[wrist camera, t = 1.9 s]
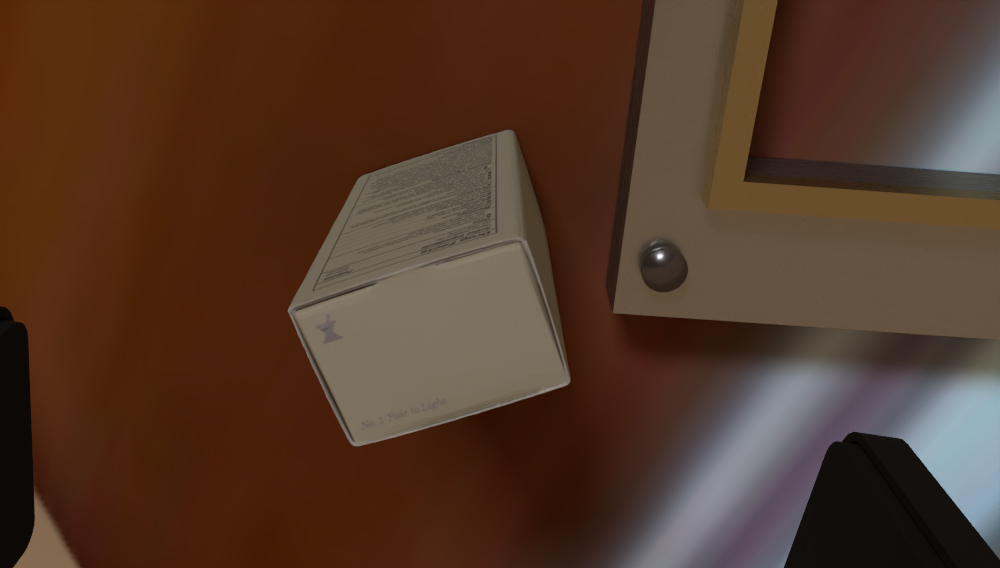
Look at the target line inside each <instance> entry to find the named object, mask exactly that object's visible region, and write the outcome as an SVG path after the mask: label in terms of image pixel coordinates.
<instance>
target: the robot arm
mask: <svg viewBox="0 0 1000 568" xmlns="http://www.w3.org/2000/svg"><path fill="white" fill-rule="evenodd" d="M34 515H35V514H34V486H33V459H32V432H31V404H30V377H29V350H28V334H27V330H26V327H25V325H24V324H22V323H20V322H14V320H13V317H12V315H11V312H10V311H9V310H8V309H7V308H6V307H0V568H13V567H14V566H15V564H16V563H17V562H18V560H19V559H20V557H21V556H22V555H23V553H24V552H25V550H26V548H27V546H28V544H29V541H30V539H31V536H32V533H33V528H34V519H35V516H34ZM784 568H1000V560H999V558H998V557H997V556H996V555H995V553H994V552H993V551H992V549H991V548H990V547H989V546H988V544H987V543H986V542H985V541H984V539H983V538H982V537H981V536H980V534H979V533H978V532H977V531H976V529H975V528H974V527H973V526H972V524H971V523H970V522H969V521H968V519H967V518H966V517H965V516H964V514H963V513H962V512H961V511H960V509H959V508H958V507H957V506H956V504H955V503H954V502H953V500H952V499H951V498H950V497H949V495H948V494H947V493H946V492H945V490H944V489H943V488H942V487H941V485H940V484H939V483H938V482H937V480H936V479H935V478H934V477H933V475H932V474H931V473H930V472H929V470H928V469H927V468H926V467H925V465H924V464H923V463H922V462H921V460H920V459H919V458H918V457H917V455H916V454H915V453H914V452H913V450H912V449H911V448H910V446H909V445H908V444H907V443H906V442H905V441H903V440H902V439H898V438H892V437H885V436H878V435H872V434H865V433H858V432H852V433H850V434H848V435H847V436H846V437H845V438H844V440H843V441H842V442H837V441H836V442H834V443H832V444H831V445H830V446H829V448H828V450H827V452H826V454H825V457H824V460H823V462H822V465H821V468H820V471H819V473H818V476H817V479H816V481H815V484H814V487H813V490H812V492H811V495H810V498H809V501H808V503H807V506H806V509H805V512H804V514H803V517H802V520H801V522H800V525H799V528H798V531H797V533H796V536H795V539H794V542H793V544H792V547H791V550H790V553H789V555H788V558H787V561H786V563H785V566H784Z"/></svg>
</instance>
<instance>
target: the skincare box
mask: <svg viewBox="0 0 1000 568" xmlns="http://www.w3.org/2000/svg"><path fill="white" fill-rule="evenodd" d="M288 313H289V315H290V317H291V319H292V321H293V323H294V325H295V328H296V331H297V333H298V336H299V338H300V340H301V342H302V344H303V346H304V348H305V350H306V353H307V356H308V358H309V359H310V362H311V365H312V367H313V368H314V371H315V373H316V375H317V377H318V379H319V381H320V383H321V386H322V388H323V390H324V392H325V394H326V397H327V399H328V401H329V403H330V405H331V407H332V409H333V411H334V413H335V415H336V417H337V419H338V421H339V423H340V425H341V427H342V428H343V430H344V432H345V434H346V436H347V439H348V441H349V442H350V443H351V444H352V445H353V446H361V445H366V444H369V443H373V442H378V441H381V440H385V439H390V438H394V437H398V436H401V435H405V434H408V433H412V432H416V431H419V430H423V429H426V428H429V427H433V426H437V425H440V424H444V423H447V422H451V421H454V420H457V419H460V418H463V417H467V416H470V415H474V414H479V413H481V412H484V411H487V410H490V409H494V408H497V407H500V406H504V405H507V404H511V403H513V402H516V401H519V400H523V399H526V398H530V397H533V396H536V395H539V394H543V393H546V392H549V391H552V390H555V389H558V388H561V387H564V386H566V385H568V384H569V383H570V380H571V379H570V372H569V367H568V361H567V355H566V350H565V344H564V338H563V332H562V325H561V320H560V314H559V309H558V303H557V297H556V292H555V286H554V280H553V274H552V268H551V261H550V255H549V249H548V242H547V236H546V231H545V227H544V223H543V220H542V216H541V213H540V209H539V206H538V203H537V199H536V196H535V193H534V190H533V186H532V183H531V180H530V177H529V173H528V170H527V167H526V164H525V161H524V158H523V155H522V152H521V149H520V146H519V143H518V140H517V137H516V134H515V133H514V132H513V131H512V130H505V131H502V132H498V133H495V134H491V135H488V136H484V137H481V138H478V139H474V140H471V141H467V142H464V143H461V144H458V145H455V146H451V147H448V148H445V149H441V150H438V151H435V152H432V153H429V154H426V155H423V156H420V157H416V158H413V159H410V160H407V161H404V162H401V163H398V164H395V165H392V166H389V167H386V168H383V169H381V170H378V171H375V172H372V173H369V174H366V175H363V176H361V177H360V178H358V180H357V182H356V184H355V185H354V187H353V189H352V191H351V193H350V195H349V197H348V199H347V201H346V202H345V204H344V206H343V208H342V210H341V212H340V213H339V215H338V217H337V219H336V221H335V223H334V225H333V227H332V228H331V230H330V232H329V234H328V236H327V238H326V240H325V242H324V243H323V245H322V247H321V249H320V250H319V252H318V255H317V256H316V258H315V260H314V262H313V264H312V266H311V267H310V270H309V271H308V273H307V275H306V277H305V279H304V281H303V282H302V284H301V286H300V288H299V290H298V291H297V293H296V295H295V297H294V299H293V301H292V303H291V305H290V306H289V309H288Z"/></svg>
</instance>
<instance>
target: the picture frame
mask: <svg viewBox="0 0 1000 568" xmlns="http://www.w3.org/2000/svg"><path fill="white" fill-rule="evenodd" d="M777 1H778V0H643V5H642V13H641V21H640V28H639V36H638V43H637V51H636V59H635V66H634V74H633V81H632V89H631V97H630V104H629V112H628V119H627V127H626V135H625V142H624V150H623V157H622V165H621V173H620V180H619V188H618V195H617V203H616V211H615V218H614V226H613V233H612V241H611V249H610V256H609V264H608V271H607V279H606V289H607V293H608V297H609V300H610V304H611V308H612V312H613V313H618V314H632V315H647V316H661V317H676V318H690V319H705V320H719V321H734V322H748V323H762V324H777V325H791V326H806V327H820V328H835V329H849V330H864V331H878V332H893V333H907V334H922V335H936V336H951V337H965V338H979V339H994V340H1000V175H997V174H983V173H970V172H956V171H943V170H929V169H915V168H902V167H888V166H875V165H861V164H847V163H834V162H820V161H807V160H793V159H779V158H766V157H752V156H748V155H749V149H750V144H751V139H752V133H753V128H754V123H755V118H756V112H757V107H758V102H759V96H760V91H761V86H762V81H763V75H764V70H765V65H766V59H767V54H768V49H769V44H770V38H771V33H772V28H773V22H774V17H775V12H776V7H777Z"/></svg>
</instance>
